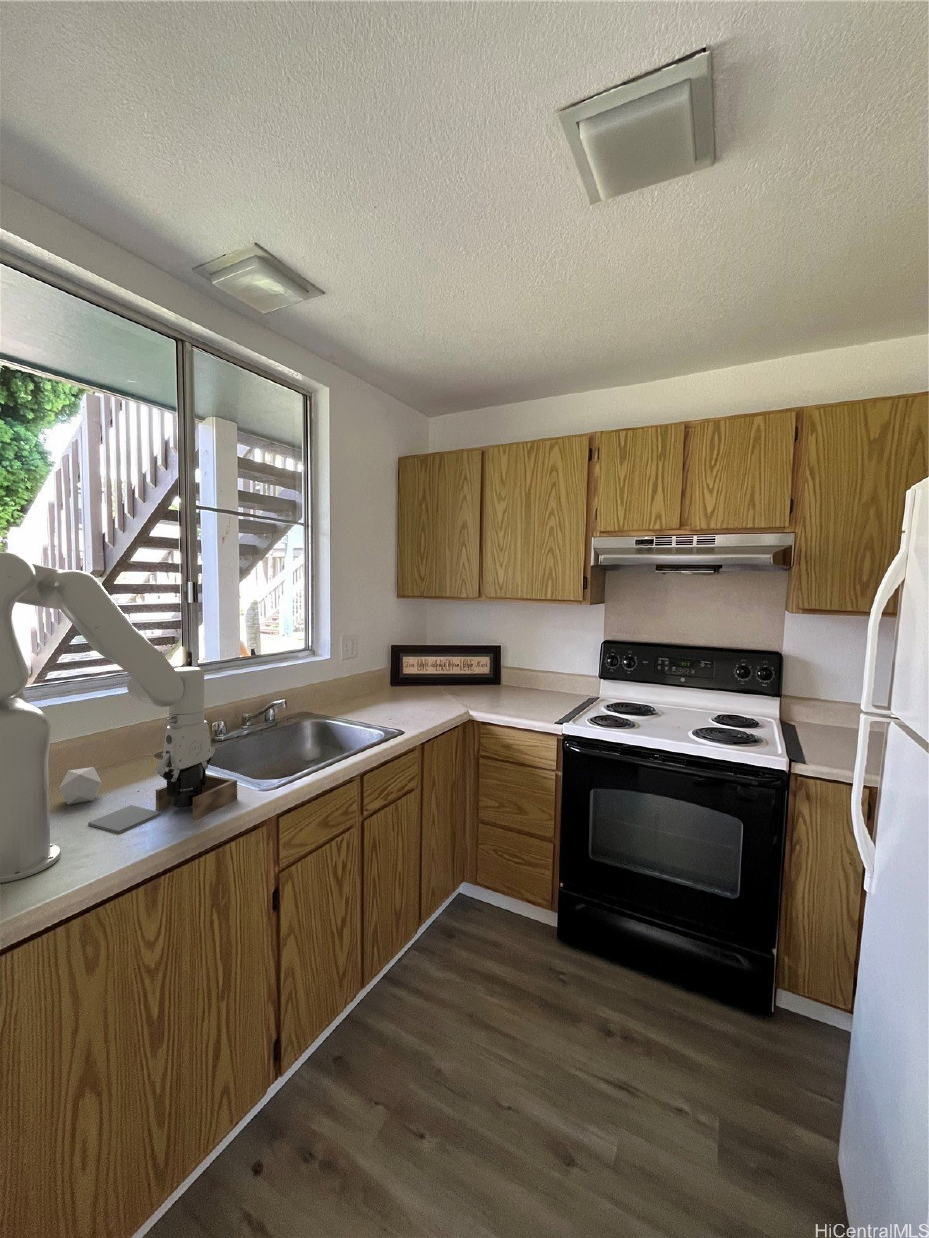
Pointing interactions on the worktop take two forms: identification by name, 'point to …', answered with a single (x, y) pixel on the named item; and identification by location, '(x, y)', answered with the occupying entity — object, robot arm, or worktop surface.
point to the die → (80, 785)
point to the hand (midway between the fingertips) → (186, 789)
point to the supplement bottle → (188, 786)
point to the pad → (124, 819)
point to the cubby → (205, 795)
